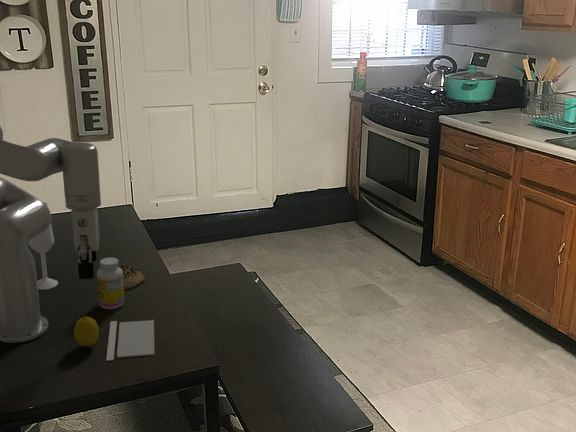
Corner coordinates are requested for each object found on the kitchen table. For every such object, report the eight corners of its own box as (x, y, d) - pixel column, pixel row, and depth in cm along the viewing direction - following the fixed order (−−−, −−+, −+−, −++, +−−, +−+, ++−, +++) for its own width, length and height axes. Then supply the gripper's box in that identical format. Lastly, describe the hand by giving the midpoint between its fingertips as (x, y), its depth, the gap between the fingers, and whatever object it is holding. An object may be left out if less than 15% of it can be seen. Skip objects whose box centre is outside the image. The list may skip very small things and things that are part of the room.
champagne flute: (63, 283, 179) (56, 204, 171) (43, 291, 173) (34, 210, 165) (48, 277, 182) (40, 199, 174) (28, 285, 177) (19, 205, 169)
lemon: (92, 354, 145) (90, 324, 142) (70, 351, 146) (68, 320, 143) (103, 342, 150) (101, 312, 147) (82, 339, 151) (80, 309, 148)
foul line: (106, 361, 142) (106, 360, 142) (110, 322, 159) (110, 321, 159) (113, 360, 142) (113, 359, 142) (117, 322, 159) (117, 321, 159)
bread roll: (109, 273, 186) (110, 258, 184) (146, 278, 188) (148, 263, 186) (101, 291, 176) (102, 275, 174) (141, 296, 177) (142, 280, 176)
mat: (116, 357, 144) (116, 356, 143) (119, 323, 158) (119, 322, 158) (154, 355, 145) (154, 353, 145) (153, 321, 160) (153, 320, 160)
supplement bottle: (98, 300, 170) (95, 257, 165) (122, 297, 172) (120, 254, 168) (100, 311, 164) (97, 267, 160) (125, 308, 166) (123, 264, 162)
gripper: (98, 211, 131) (103, 284, 137) (102, 187, 147) (106, 254, 152) (60, 212, 129) (67, 286, 135) (68, 188, 145) (74, 255, 151)
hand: (88, 269), depth 144 cm, fingers open, 9 cm apart
